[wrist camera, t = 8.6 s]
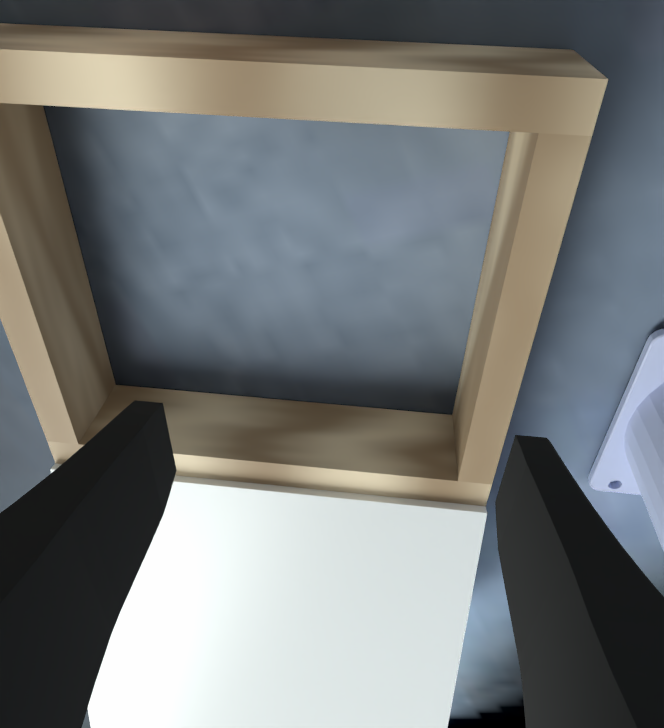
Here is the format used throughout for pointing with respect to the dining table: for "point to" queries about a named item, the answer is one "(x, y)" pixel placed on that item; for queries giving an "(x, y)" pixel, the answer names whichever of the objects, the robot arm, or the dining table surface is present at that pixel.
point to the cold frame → (285, 417)
